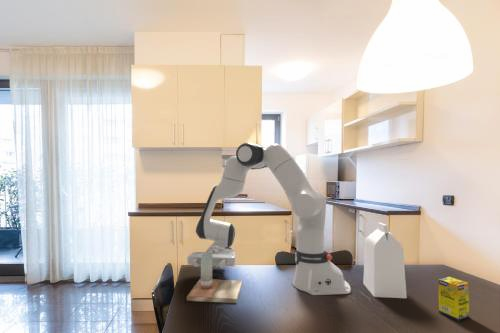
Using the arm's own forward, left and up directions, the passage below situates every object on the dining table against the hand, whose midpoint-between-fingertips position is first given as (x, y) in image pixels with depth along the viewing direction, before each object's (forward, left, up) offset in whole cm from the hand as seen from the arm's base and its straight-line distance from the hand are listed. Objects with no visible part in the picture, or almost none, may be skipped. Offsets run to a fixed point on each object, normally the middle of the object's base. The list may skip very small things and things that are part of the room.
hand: (207, 265), depth 103 cm
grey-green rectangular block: (0, +1, -8) cm, 8 cm away
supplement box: (-84, +10, -10) cm, 85 cm away
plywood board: (-4, +1, -9) cm, 10 cm away
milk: (-69, -7, -10) cm, 70 cm away
